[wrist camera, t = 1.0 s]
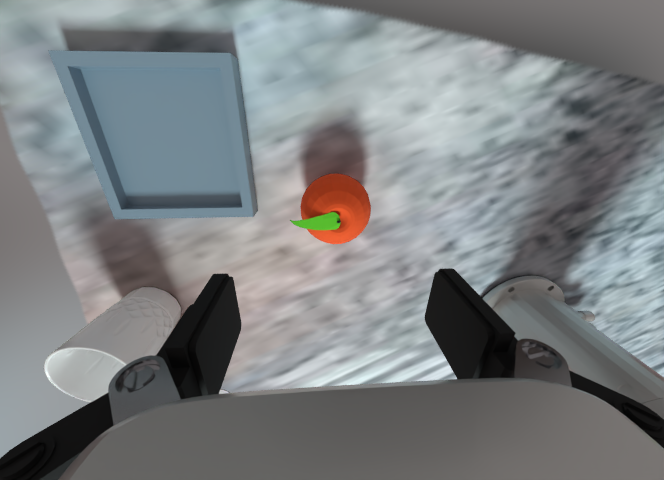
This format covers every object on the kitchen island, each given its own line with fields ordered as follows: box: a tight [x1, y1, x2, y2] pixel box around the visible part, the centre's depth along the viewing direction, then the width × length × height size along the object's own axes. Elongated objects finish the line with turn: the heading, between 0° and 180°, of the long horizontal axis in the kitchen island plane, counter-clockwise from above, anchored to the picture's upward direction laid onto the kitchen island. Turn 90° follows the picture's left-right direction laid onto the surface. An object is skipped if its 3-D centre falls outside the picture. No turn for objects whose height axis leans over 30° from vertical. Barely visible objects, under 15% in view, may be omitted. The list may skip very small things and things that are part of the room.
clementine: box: [290, 173, 371, 244], centre depth 24 cm, size 8×7×7 cm
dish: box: [49, 51, 258, 219], centre depth 23 cm, size 14×14×2 cm
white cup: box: [44, 287, 181, 402], centre depth 28 cm, size 8×8×10 cm
